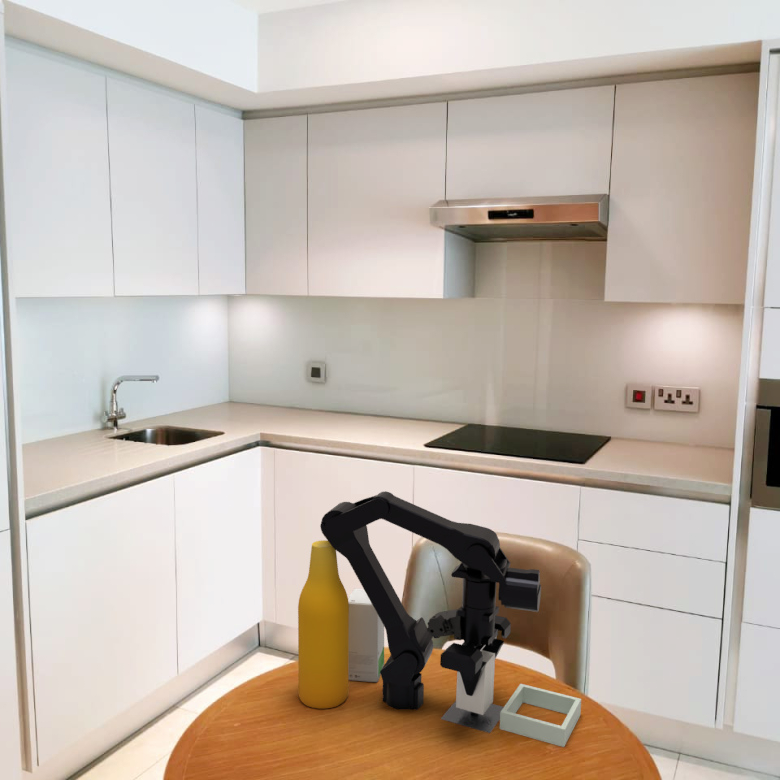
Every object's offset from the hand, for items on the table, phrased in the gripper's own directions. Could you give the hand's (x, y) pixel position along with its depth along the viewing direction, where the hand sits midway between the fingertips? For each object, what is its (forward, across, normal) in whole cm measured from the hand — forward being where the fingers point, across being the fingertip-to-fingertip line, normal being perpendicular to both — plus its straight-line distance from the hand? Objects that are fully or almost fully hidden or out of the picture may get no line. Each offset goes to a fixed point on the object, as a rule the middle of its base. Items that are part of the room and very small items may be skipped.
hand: (475, 688), depth 137 cm
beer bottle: (+6, +6, -27) cm, 28 cm away
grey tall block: (+3, 0, 0) cm, 3 cm away
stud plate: (+6, 0, 0) cm, 6 cm away
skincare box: (+6, -6, -25) cm, 26 cm away
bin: (+6, -3, +11) cm, 13 cm away
